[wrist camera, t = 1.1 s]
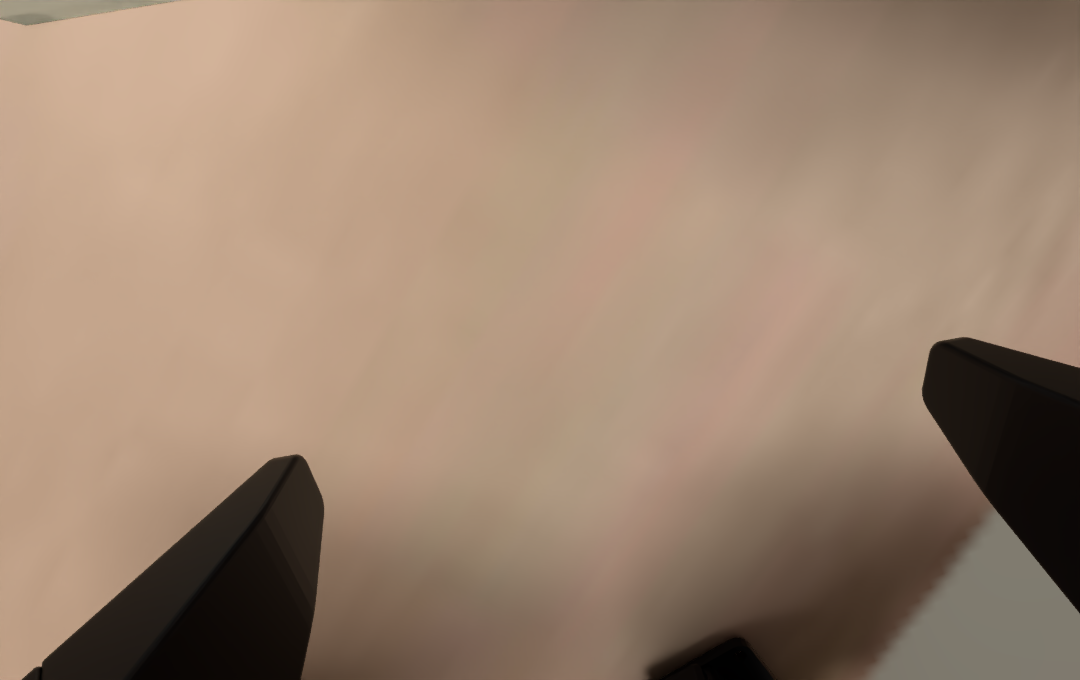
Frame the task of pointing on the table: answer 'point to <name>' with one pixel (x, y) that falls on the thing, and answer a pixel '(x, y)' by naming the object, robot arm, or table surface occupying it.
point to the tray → (63, 9)
